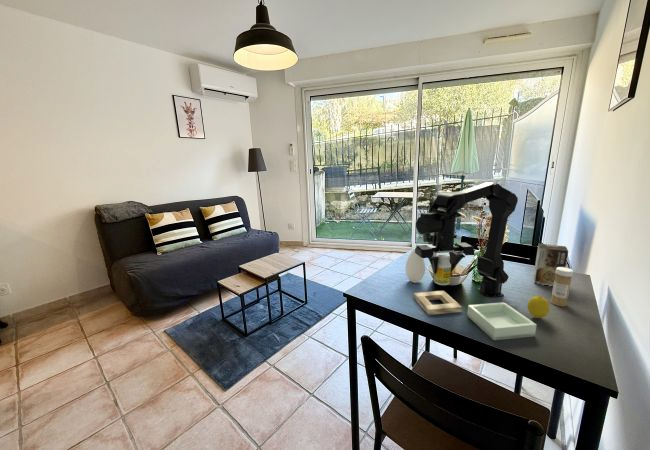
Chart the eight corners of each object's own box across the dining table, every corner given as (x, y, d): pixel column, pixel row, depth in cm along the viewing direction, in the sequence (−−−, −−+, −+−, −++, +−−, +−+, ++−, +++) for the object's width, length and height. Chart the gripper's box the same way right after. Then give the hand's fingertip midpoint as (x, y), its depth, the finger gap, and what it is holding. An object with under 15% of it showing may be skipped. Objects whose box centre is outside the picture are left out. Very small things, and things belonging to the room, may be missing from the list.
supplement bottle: (439, 277, 102) (441, 253, 99) (453, 282, 97) (455, 257, 95) (430, 281, 99) (432, 256, 97) (443, 287, 95) (445, 260, 92)
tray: (502, 312, 95) (504, 302, 94) (534, 336, 82) (536, 324, 81) (467, 315, 94) (468, 305, 93) (493, 340, 81) (495, 328, 80)
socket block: (443, 295, 108) (443, 290, 107) (461, 311, 96) (461, 306, 95) (413, 297, 106) (414, 292, 106) (428, 314, 95) (428, 309, 94)
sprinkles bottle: (568, 304, 99) (575, 269, 96) (563, 308, 97) (570, 272, 93) (553, 299, 103) (559, 265, 99) (547, 302, 100) (554, 268, 97)
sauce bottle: (413, 276, 125) (416, 238, 120) (428, 283, 118) (430, 243, 114) (401, 280, 121) (403, 241, 117) (415, 287, 114) (417, 246, 110)
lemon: (548, 324, 88) (552, 302, 86) (526, 319, 91) (530, 297, 89) (545, 316, 92) (549, 294, 90) (525, 311, 95) (529, 290, 93)
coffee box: (559, 282, 115) (566, 246, 111) (561, 289, 110) (569, 250, 106) (532, 278, 120) (538, 242, 116) (533, 284, 115) (539, 247, 111)
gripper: (458, 223, 102) (454, 262, 106) (409, 226, 100) (407, 266, 104) (477, 231, 91) (472, 274, 95) (423, 234, 90) (420, 278, 94)
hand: (442, 273), depth 97 cm, fingers closed on supplement bottle, 5 cm apart
